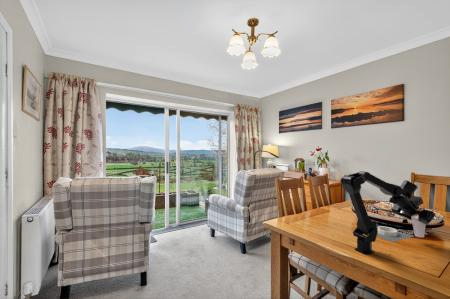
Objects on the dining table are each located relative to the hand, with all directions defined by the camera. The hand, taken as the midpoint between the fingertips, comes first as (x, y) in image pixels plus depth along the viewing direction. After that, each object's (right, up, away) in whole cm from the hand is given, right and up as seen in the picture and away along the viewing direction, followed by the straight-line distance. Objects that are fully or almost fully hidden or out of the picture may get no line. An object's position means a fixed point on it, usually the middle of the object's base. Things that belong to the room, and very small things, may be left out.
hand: (421, 222), depth 114 cm
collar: (-7, -11, +14) cm, 20 cm away
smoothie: (-1, -7, 0) cm, 7 cm away
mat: (-7, -12, +14) cm, 20 cm away
